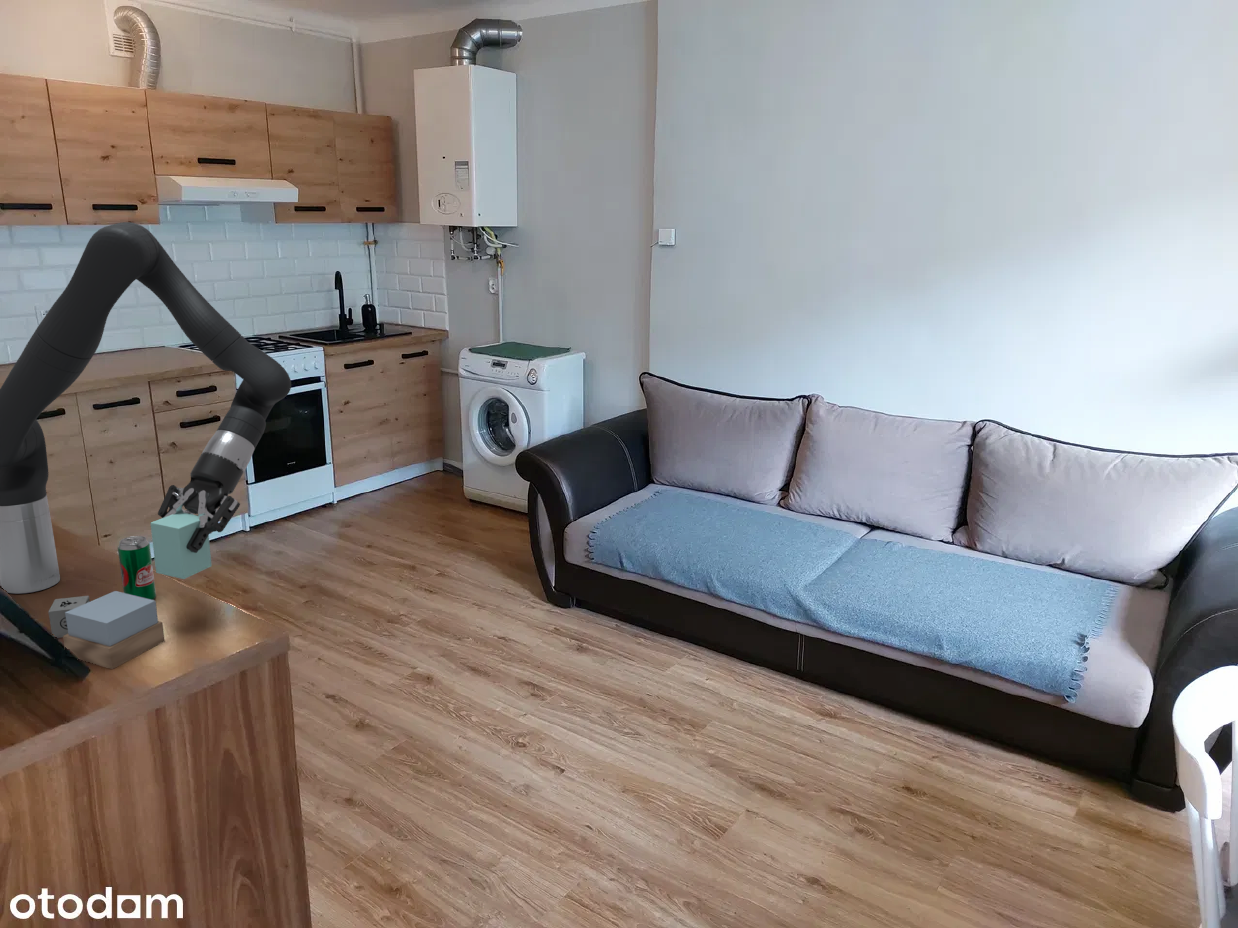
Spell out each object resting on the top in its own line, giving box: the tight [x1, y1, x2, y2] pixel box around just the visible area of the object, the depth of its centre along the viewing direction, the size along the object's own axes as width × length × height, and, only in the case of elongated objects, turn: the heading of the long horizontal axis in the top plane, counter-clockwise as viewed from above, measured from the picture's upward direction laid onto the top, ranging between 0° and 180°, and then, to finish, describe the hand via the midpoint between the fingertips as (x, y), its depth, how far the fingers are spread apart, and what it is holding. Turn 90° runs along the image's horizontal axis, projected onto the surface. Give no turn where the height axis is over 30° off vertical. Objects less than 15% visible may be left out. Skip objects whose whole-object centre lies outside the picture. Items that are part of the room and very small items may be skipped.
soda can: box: [117, 535, 157, 600], centre depth 156 cm, size 5×5×12 cm
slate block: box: [65, 590, 159, 646], centre depth 139 cm, size 9×9×4 cm
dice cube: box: [48, 595, 91, 639], centre depth 145 cm, size 5×5×5 cm
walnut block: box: [62, 620, 165, 670], centre depth 140 cm, size 10×10×4 cm
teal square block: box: [150, 513, 213, 580], centre depth 144 cm, size 6×6×9 cm
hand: (176, 546), depth 143 cm, fingers closed on teal square block, 6 cm apart
